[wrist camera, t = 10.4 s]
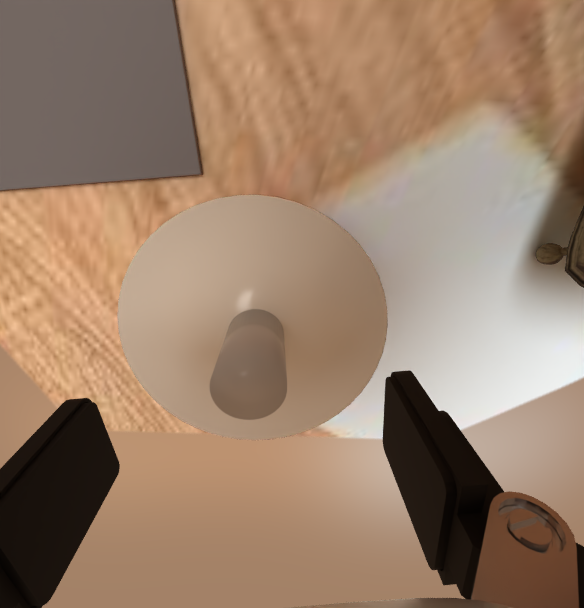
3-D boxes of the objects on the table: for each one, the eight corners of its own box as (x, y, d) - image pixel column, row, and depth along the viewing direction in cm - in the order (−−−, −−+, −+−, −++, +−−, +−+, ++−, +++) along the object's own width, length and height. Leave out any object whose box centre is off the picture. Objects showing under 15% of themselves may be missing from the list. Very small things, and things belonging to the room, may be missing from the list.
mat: (146, -171, 16) (142, -184, 15) (202, 174, 21) (200, 174, 21) (-181, -152, 15) (-199, -165, 15) (-37, 193, 21) (-46, 193, 20)
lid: (383, 183, 16) (444, 179, 10) (378, 415, 21) (416, 499, 16) (93, 207, 16) (-11, 217, 10) (159, 437, 21) (116, 530, 15)
